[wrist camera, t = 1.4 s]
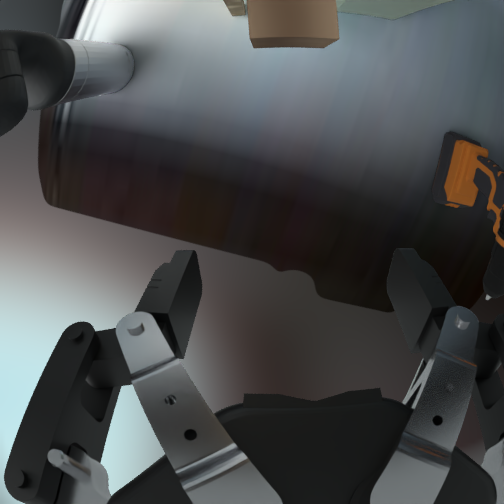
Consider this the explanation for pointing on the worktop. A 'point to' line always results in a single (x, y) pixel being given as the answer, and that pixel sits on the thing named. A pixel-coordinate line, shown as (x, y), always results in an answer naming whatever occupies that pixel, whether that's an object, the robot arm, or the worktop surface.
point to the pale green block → (385, 7)
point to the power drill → (474, 194)
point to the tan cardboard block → (292, 23)
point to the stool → (235, 7)
